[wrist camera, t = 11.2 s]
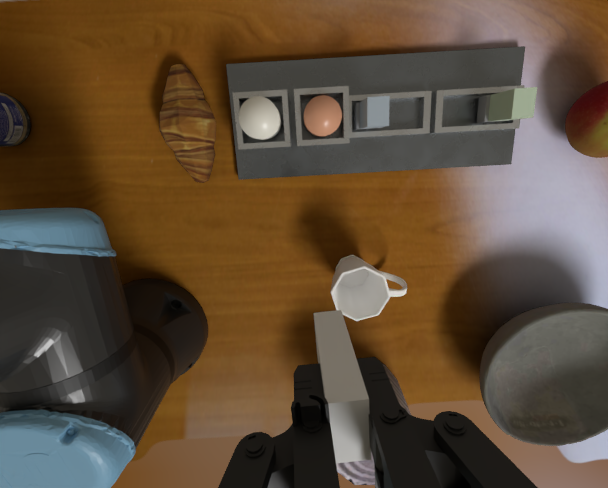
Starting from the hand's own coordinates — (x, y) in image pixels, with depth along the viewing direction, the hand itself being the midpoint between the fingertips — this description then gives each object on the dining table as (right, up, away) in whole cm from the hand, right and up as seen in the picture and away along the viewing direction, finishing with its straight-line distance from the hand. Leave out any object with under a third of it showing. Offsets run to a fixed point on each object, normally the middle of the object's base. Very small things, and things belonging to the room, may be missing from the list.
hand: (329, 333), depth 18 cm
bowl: (+32, -11, +32) cm, 47 cm away
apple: (+33, +20, +23) cm, 45 cm away
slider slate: (+6, +20, +21) cm, 30 cm away
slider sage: (+21, +21, +21) cm, 36 cm away
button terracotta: (+1, +20, +21) cm, 29 cm away
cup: (+7, +1, +29) cm, 29 cm away
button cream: (-6, +19, +19) cm, 28 cm away
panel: (+7, +20, +23) cm, 31 cm away
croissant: (-15, +19, +23) cm, 34 cm away
